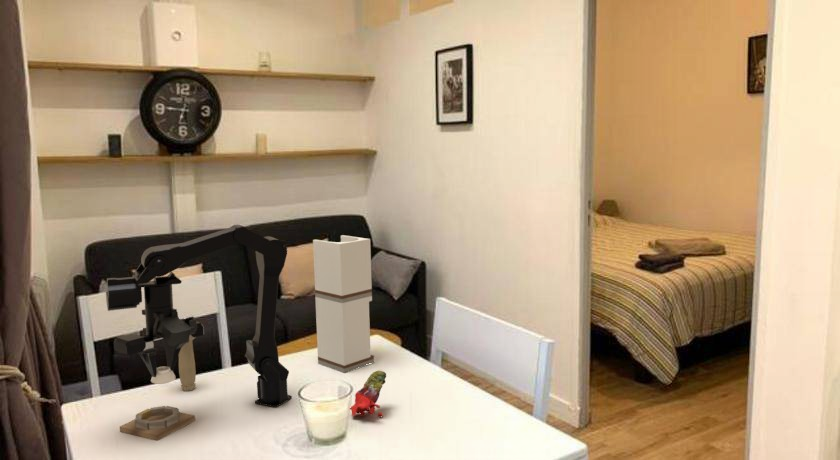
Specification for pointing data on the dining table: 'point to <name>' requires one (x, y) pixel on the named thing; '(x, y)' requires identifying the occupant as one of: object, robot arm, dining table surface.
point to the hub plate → (158, 431)
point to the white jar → (163, 375)
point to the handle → (187, 366)
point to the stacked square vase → (343, 302)
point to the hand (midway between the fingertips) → (162, 374)
